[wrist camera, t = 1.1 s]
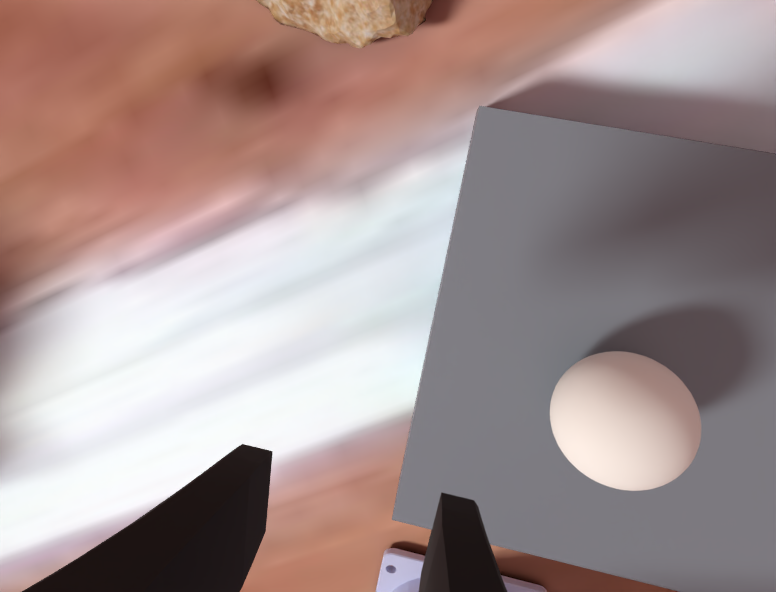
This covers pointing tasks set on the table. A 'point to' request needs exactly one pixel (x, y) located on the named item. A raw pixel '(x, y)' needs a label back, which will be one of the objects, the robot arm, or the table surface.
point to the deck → (604, 346)
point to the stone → (350, 18)
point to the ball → (625, 421)
